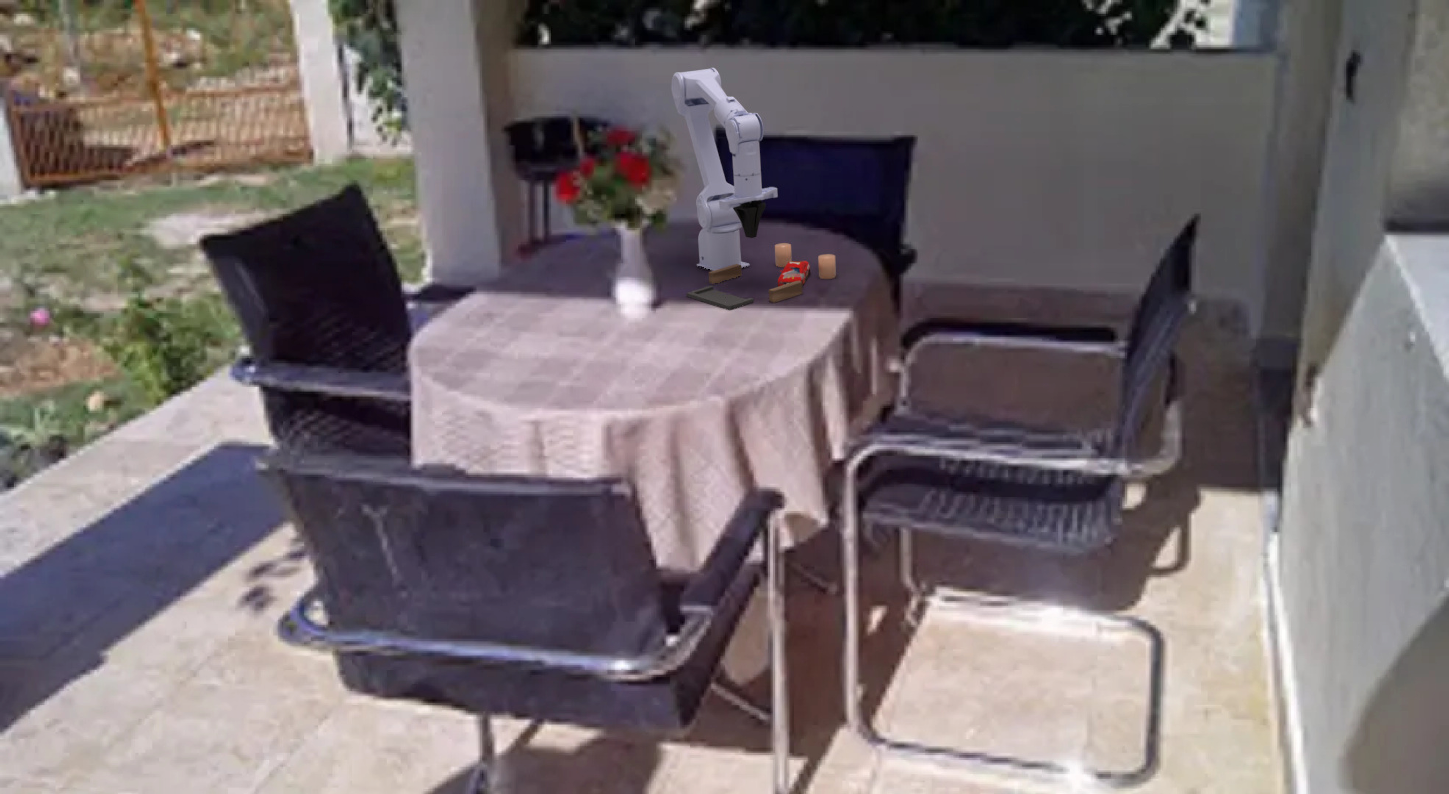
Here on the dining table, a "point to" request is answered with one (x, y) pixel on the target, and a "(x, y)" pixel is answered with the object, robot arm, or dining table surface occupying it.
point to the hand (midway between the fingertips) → (751, 236)
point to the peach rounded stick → (782, 254)
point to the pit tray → (718, 298)
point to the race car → (794, 272)
